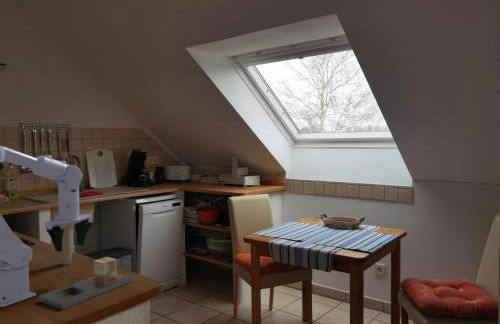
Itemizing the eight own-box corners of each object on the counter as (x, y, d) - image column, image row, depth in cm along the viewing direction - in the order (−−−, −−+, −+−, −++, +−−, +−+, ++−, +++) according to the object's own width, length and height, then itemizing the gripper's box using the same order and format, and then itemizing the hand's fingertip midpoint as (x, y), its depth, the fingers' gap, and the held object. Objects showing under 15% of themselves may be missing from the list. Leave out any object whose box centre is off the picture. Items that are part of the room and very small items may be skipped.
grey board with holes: (62, 309, 104) (62, 303, 104) (38, 301, 109) (38, 295, 109) (132, 281, 125) (132, 275, 125) (110, 275, 130) (109, 270, 130)
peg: (104, 288, 119) (104, 263, 119) (94, 285, 121) (94, 260, 121) (116, 283, 123) (116, 259, 122) (106, 280, 125) (106, 256, 125)
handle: (71, 260, 145) (70, 218, 144) (76, 264, 140) (75, 222, 139) (56, 262, 142) (55, 220, 141) (61, 267, 137) (60, 223, 136)
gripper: (55, 208, 114) (56, 256, 115) (97, 201, 127) (98, 244, 128) (40, 206, 118) (41, 252, 119) (82, 199, 130) (83, 241, 131)
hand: (69, 248), depth 123 cm, fingers open, 7 cm apart
